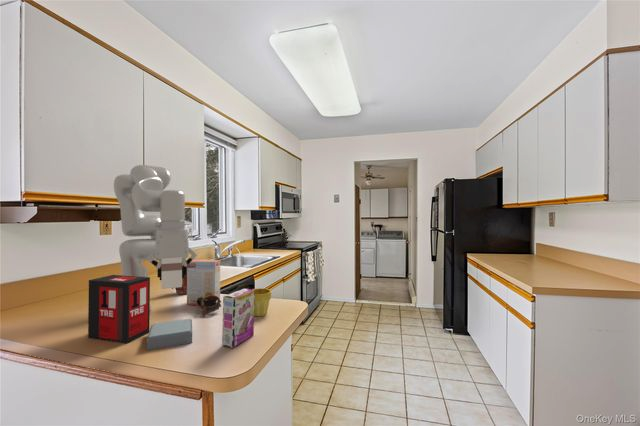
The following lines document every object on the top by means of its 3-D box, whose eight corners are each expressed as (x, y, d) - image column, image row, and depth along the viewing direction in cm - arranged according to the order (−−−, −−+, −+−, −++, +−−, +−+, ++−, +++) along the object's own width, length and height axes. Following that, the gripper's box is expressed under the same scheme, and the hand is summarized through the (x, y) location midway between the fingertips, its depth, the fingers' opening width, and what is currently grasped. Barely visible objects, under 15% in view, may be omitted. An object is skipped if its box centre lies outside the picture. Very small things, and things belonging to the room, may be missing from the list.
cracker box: (220, 302, 138) (221, 259, 138) (214, 306, 132) (215, 261, 132) (193, 301, 139) (193, 258, 139) (186, 305, 133) (186, 260, 133)
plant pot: (246, 319, 116) (246, 295, 116) (246, 310, 126) (247, 288, 126) (271, 317, 119) (271, 293, 119) (270, 309, 129) (270, 287, 129)
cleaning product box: (88, 338, 97) (88, 280, 98) (112, 328, 106) (112, 274, 106) (127, 343, 94) (128, 283, 94) (149, 332, 102) (149, 277, 102)
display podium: (146, 350, 89) (147, 337, 89) (151, 334, 101) (151, 323, 101) (192, 342, 95) (192, 330, 95) (191, 328, 106) (191, 317, 106)
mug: (188, 290, 159) (188, 263, 159) (196, 292, 154) (196, 265, 154) (161, 296, 147) (161, 267, 147) (169, 299, 142) (169, 269, 142)
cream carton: (161, 289, 93) (161, 258, 93) (163, 284, 99) (163, 255, 100) (181, 287, 96) (182, 257, 96) (182, 282, 102) (182, 254, 102)
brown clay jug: (225, 309, 129) (225, 296, 125) (213, 325, 121) (213, 312, 117) (202, 301, 131) (201, 288, 127) (189, 316, 123) (187, 303, 119)
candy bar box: (234, 349, 90) (234, 297, 91) (221, 346, 92) (222, 295, 92) (254, 335, 101) (255, 289, 101) (243, 333, 103) (243, 287, 103)
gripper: (141, 227, 91) (141, 283, 91) (200, 226, 98) (199, 278, 98) (144, 226, 98) (144, 278, 97) (199, 225, 105) (199, 274, 105)
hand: (172, 278), depth 98 cm, fingers closed on cream carton, 6 cm apart
